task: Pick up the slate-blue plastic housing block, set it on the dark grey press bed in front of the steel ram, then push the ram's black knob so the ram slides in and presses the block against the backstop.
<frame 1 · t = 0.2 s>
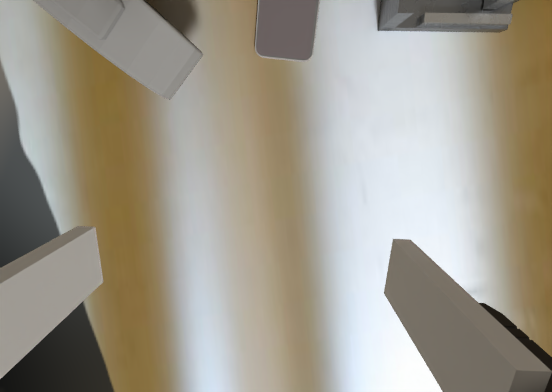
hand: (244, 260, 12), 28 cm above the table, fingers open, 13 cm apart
alarm clock: (127, 18, 35), on the table
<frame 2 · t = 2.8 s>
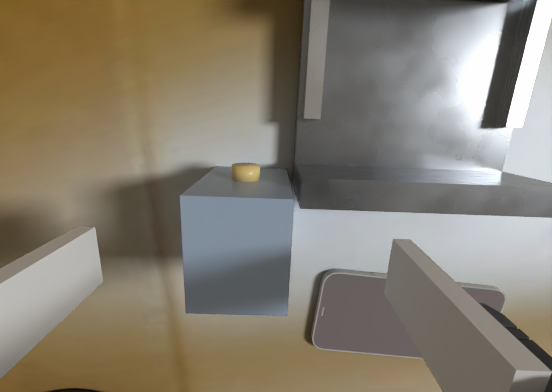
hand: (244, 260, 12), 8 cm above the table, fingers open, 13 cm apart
smartphone: (401, 311, 24), on the table
press bed: (405, 75, 18), on the table
housing: (250, 207, 21), on the table
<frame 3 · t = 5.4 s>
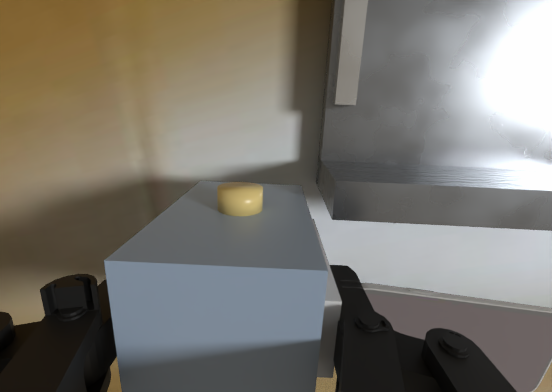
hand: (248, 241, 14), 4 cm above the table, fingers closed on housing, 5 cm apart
smartphone: (440, 333, 20), on the table
press bed: (462, 50, 15), on the table
housing: (249, 238, 15), point 3 cm above the table, touching gripper
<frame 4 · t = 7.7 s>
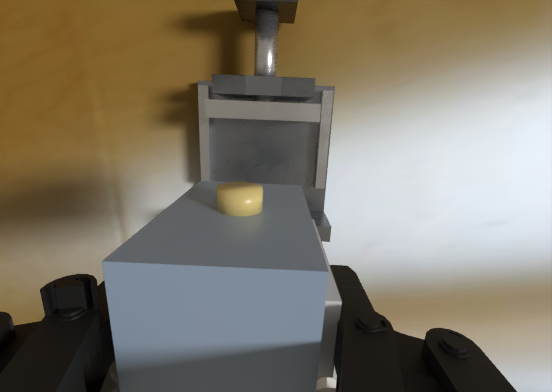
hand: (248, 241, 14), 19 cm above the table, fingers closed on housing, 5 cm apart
press bed: (264, 155, 32), on the table
housing: (249, 238, 15), point 18 cm above the table, touching gripper
ram: (265, 59, 25), point 4 cm above the table, slide at 0.0 cm
when the fingers open (2 cm above the table, at t = 10.3 s): housing stays where it is, resting on press bed.
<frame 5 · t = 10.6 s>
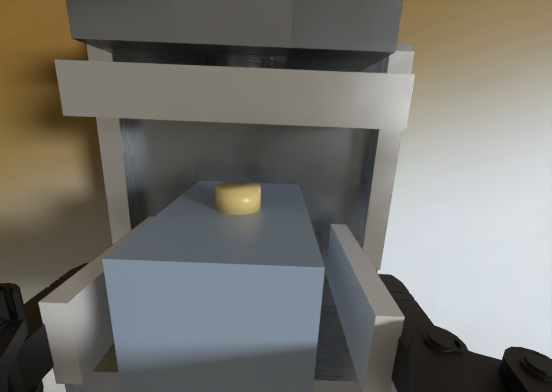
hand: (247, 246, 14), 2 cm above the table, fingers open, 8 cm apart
press bed: (252, 195, 15), on the table
housing: (248, 237, 15), point 1 cm above the table, touching press bed
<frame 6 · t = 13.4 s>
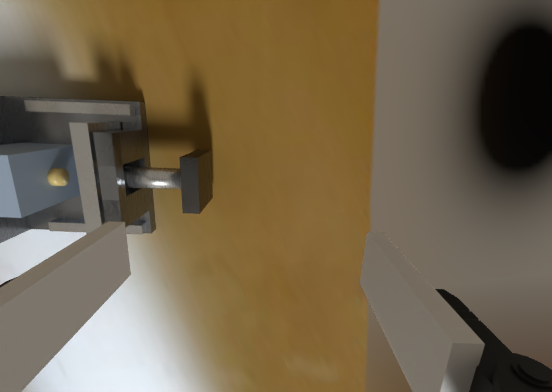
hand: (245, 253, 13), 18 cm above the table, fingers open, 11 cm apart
press bed: (81, 167, 31), on the table
housing: (54, 167, 29), point 1 cm above the table, touching press bed
ram: (151, 177, 27), point 4 cm above the table, slide at 0.0 cm
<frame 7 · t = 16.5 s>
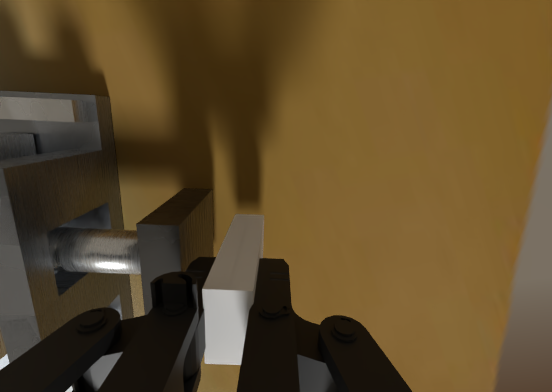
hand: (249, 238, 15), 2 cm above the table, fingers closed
ram: (88, 249, 13), point 4 cm above the table, slide at 1.3 cm, touching gripper
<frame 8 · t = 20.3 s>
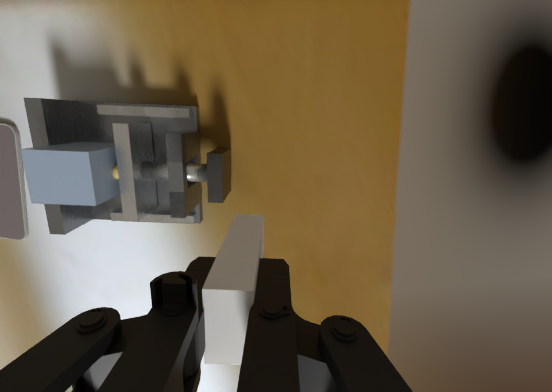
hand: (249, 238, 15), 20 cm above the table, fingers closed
press bed: (139, 163, 34), on the table
housing: (110, 164, 33), point 1 cm above the table, touching press bed, ram
ram: (178, 171, 31), point 4 cm above the table, slide at 3.1 cm, touching housing
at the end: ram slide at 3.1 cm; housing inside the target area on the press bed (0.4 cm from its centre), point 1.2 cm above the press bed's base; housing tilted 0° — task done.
